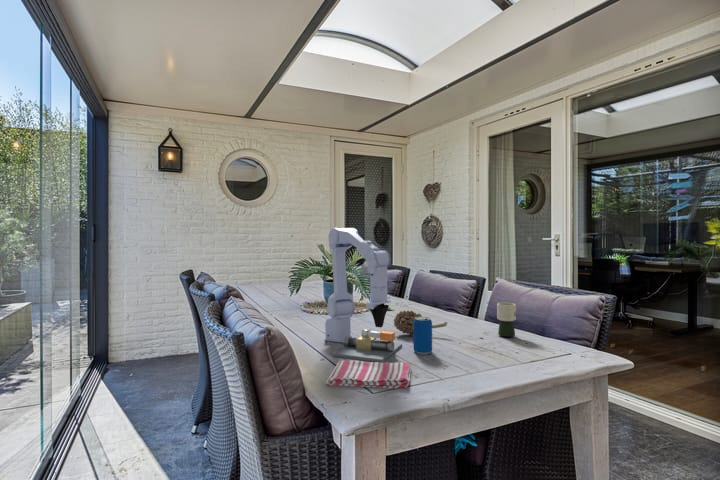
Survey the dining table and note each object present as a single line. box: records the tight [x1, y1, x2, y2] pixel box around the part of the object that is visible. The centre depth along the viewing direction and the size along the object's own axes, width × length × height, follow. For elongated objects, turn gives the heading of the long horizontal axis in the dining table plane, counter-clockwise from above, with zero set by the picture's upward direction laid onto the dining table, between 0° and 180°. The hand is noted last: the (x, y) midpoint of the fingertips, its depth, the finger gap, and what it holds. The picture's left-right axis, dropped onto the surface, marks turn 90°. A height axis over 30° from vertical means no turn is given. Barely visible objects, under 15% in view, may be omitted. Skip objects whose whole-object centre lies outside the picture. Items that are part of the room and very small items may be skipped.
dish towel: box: [325, 360, 411, 390], centre depth 122 cm, size 17×23×4 cm
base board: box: [332, 342, 403, 363], centre depth 147 cm, size 18×20×1 cm
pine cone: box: [393, 310, 449, 336], centre depth 168 cm, size 22×10×10 cm, turn 81°
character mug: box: [496, 302, 517, 338], centre depth 165 cm, size 11×7×13 cm, turn 177°
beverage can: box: [412, 316, 433, 355], centre depth 145 cm, size 6×6×12 cm
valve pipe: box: [343, 335, 395, 352], centre depth 147 cm, size 18×5×4 cm, turn 66°
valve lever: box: [361, 328, 396, 342], centre depth 145 cm, size 12×3×2 cm, turn 62°
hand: (379, 326), depth 140 cm, fingers closed
